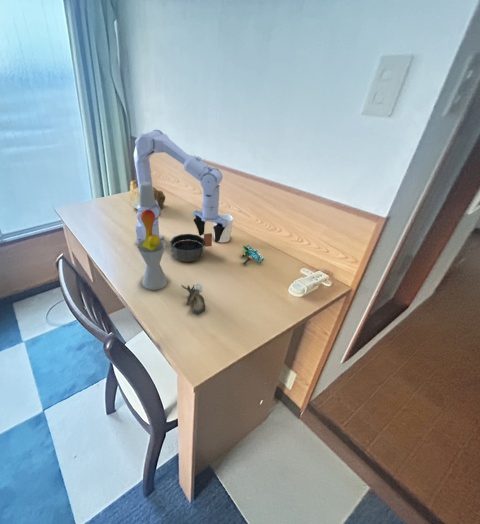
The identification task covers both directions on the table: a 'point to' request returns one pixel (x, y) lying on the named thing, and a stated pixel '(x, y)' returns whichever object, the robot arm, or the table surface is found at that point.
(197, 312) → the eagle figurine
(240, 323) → the table surface
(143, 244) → the lava lamp
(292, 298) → the table surface
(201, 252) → the black cooking pot
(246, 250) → the stick construction toy
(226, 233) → the white cup
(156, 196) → the rough brown rock
